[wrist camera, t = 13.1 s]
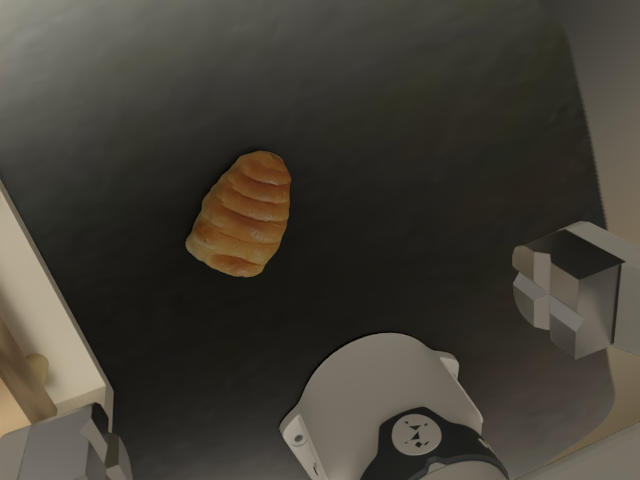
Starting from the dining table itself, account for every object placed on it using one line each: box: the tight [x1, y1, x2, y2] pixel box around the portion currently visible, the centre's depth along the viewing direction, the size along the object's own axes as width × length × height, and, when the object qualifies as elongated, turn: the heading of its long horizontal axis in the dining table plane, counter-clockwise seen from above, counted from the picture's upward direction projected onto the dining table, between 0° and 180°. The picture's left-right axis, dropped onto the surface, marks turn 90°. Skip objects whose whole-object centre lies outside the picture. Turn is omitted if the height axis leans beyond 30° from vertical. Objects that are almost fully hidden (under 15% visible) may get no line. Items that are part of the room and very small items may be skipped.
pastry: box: [185, 151, 291, 277], centre depth 38 cm, size 9×7×4 cm
